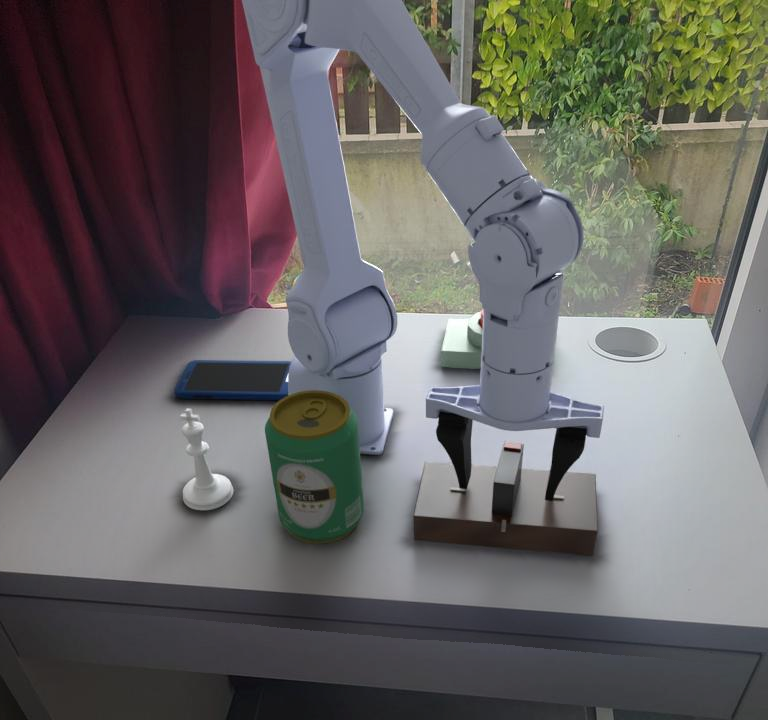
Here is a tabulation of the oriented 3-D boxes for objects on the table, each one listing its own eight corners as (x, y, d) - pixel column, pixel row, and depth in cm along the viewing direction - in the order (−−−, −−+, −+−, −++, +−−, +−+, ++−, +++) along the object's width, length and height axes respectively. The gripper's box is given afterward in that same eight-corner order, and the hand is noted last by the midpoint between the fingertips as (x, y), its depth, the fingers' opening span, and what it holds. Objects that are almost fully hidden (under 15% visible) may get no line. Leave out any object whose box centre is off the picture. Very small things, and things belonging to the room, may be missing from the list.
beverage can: (268, 540, 75) (248, 434, 67) (295, 486, 81) (280, 382, 73) (351, 552, 73) (342, 445, 65) (373, 496, 79) (367, 391, 71)
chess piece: (223, 513, 78) (203, 427, 71) (175, 507, 79) (151, 423, 72) (240, 481, 82) (223, 396, 75) (194, 476, 82) (173, 392, 76)
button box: (440, 367, 96) (441, 337, 94) (448, 333, 102) (448, 304, 100) (543, 372, 94) (546, 342, 92) (545, 338, 100) (548, 308, 98)
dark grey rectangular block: (511, 516, 71) (514, 482, 69) (491, 513, 72) (493, 479, 69) (521, 474, 76) (524, 441, 73) (501, 472, 76) (504, 439, 74)
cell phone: (292, 400, 92) (291, 395, 91) (172, 398, 93) (171, 393, 93) (303, 366, 97) (302, 360, 97) (190, 365, 99) (188, 359, 98)
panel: (411, 548, 73) (411, 522, 71) (426, 478, 81) (426, 452, 79) (593, 565, 71) (598, 538, 69) (591, 490, 78) (595, 464, 76)
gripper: (614, 339, 66) (592, 471, 75) (438, 323, 69) (437, 451, 78) (609, 385, 61) (586, 521, 70) (419, 366, 64) (421, 498, 73)
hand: (507, 487), depth 73 cm, fingers open, 7 cm apart
